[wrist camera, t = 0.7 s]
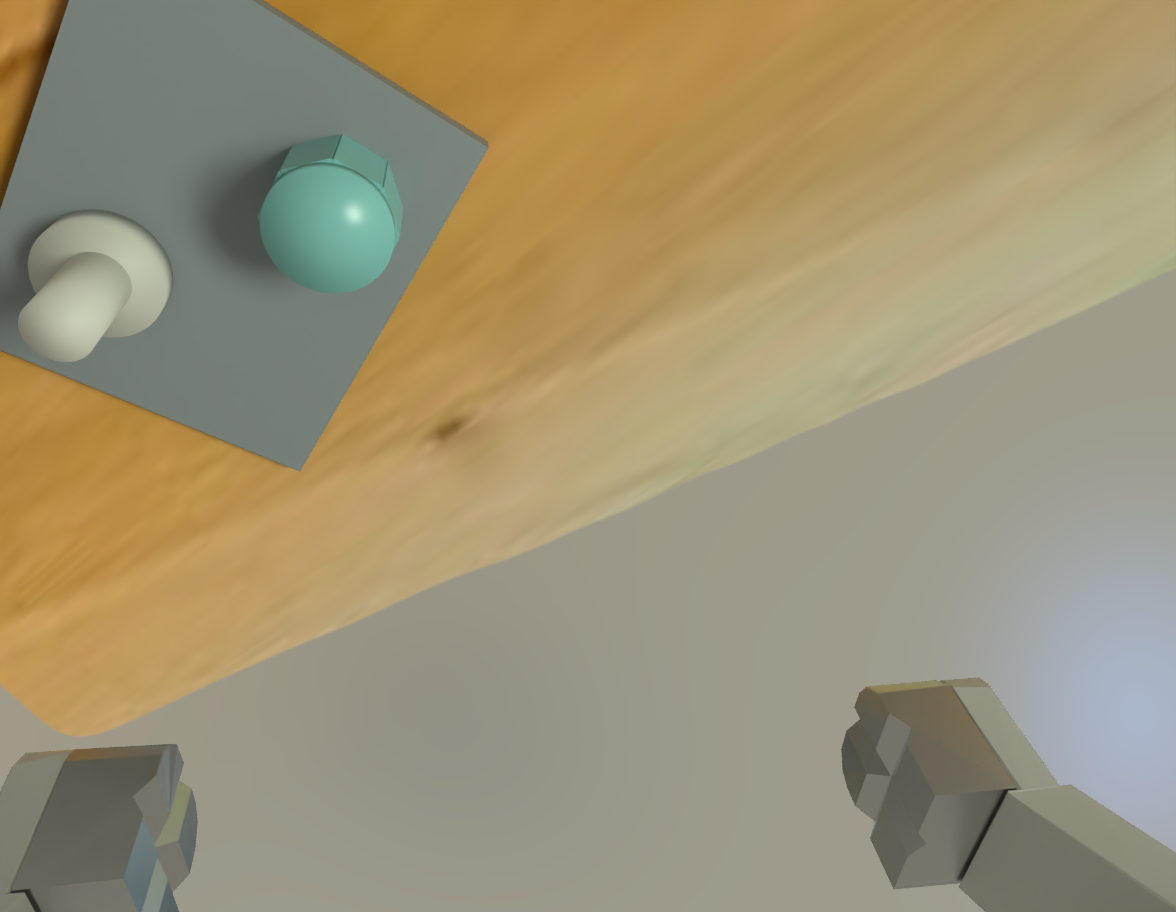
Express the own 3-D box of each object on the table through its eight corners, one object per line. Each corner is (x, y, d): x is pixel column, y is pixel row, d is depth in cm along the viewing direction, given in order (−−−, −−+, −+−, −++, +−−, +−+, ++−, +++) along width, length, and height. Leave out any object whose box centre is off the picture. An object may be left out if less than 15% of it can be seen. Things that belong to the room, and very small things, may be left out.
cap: (307, 113, 40) (292, 141, 36) (419, 179, 43) (417, 211, 39) (257, 218, 43) (238, 254, 39) (366, 275, 45) (359, 314, 41)
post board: (109, -96, 36) (33, -87, 29) (487, 141, 43) (495, 192, 36) (-31, 322, 45) (-114, 404, 38) (302, 459, 52) (281, 548, 45)
